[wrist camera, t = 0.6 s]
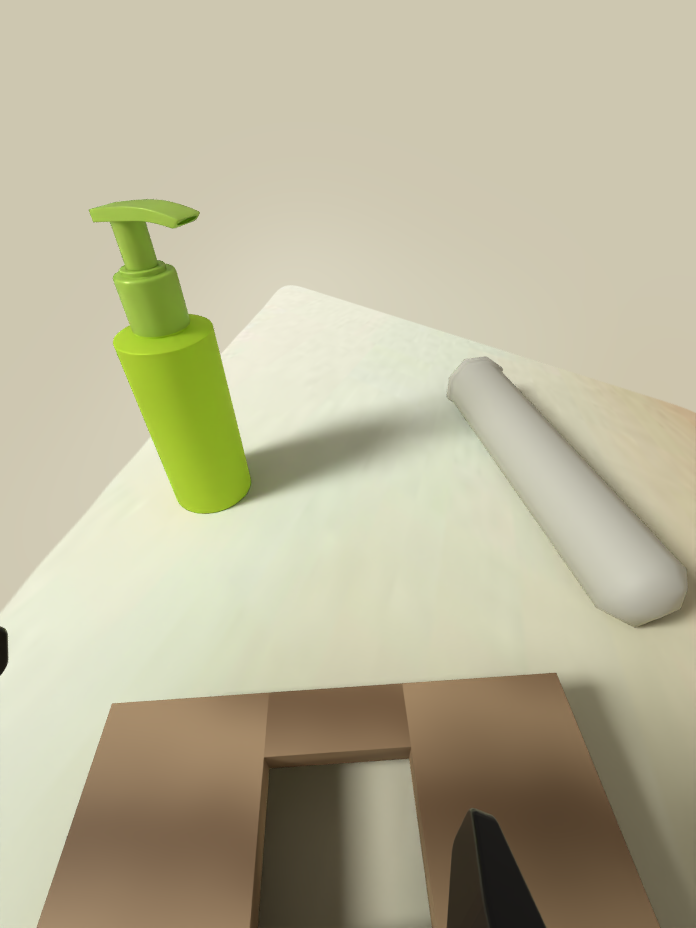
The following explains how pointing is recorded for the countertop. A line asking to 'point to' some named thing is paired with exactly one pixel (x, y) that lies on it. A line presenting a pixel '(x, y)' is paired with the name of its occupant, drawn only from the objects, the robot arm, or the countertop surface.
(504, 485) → the countertop surface
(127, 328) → the soap dispenser
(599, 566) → the tube
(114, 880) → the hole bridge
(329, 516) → the countertop surface
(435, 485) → the countertop surface
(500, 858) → the robot arm
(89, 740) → the countertop surface
